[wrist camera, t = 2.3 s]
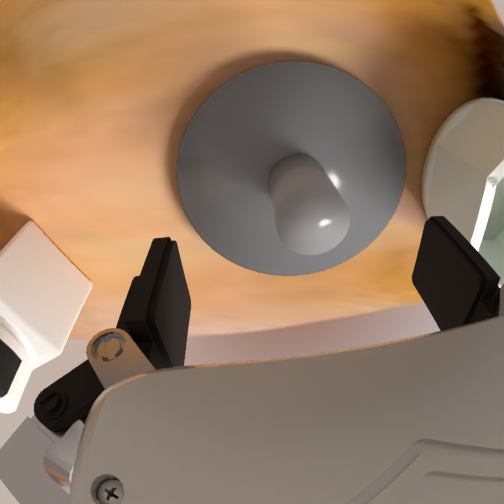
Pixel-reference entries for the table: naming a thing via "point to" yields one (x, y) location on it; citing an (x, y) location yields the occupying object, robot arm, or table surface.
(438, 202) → the bowl
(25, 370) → the medicine bottle
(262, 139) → the lid
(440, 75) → the table surface
